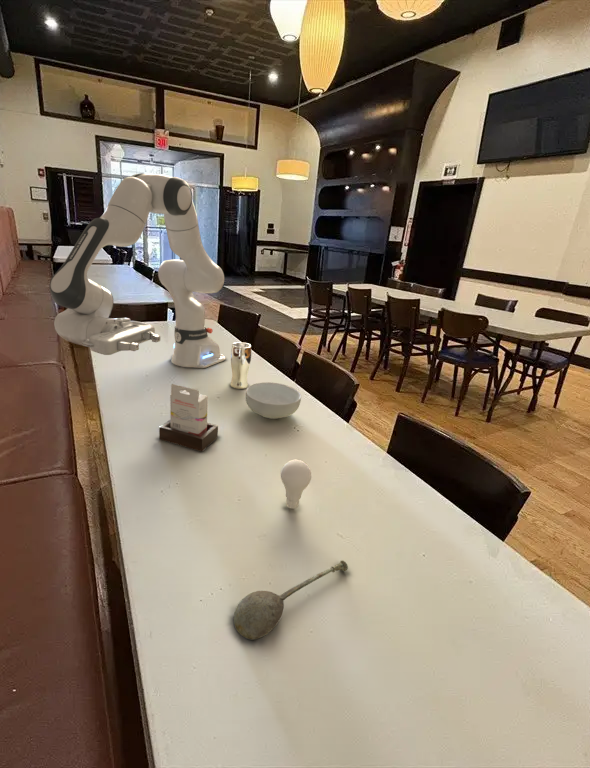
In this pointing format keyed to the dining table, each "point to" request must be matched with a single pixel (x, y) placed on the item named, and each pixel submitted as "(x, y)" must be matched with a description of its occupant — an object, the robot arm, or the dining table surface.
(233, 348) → the beer glass
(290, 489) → the lightbulb
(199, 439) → the tray
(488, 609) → the dining table surface
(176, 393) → the ink cartridge box
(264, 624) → the soupspoon
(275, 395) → the cereal bowl
